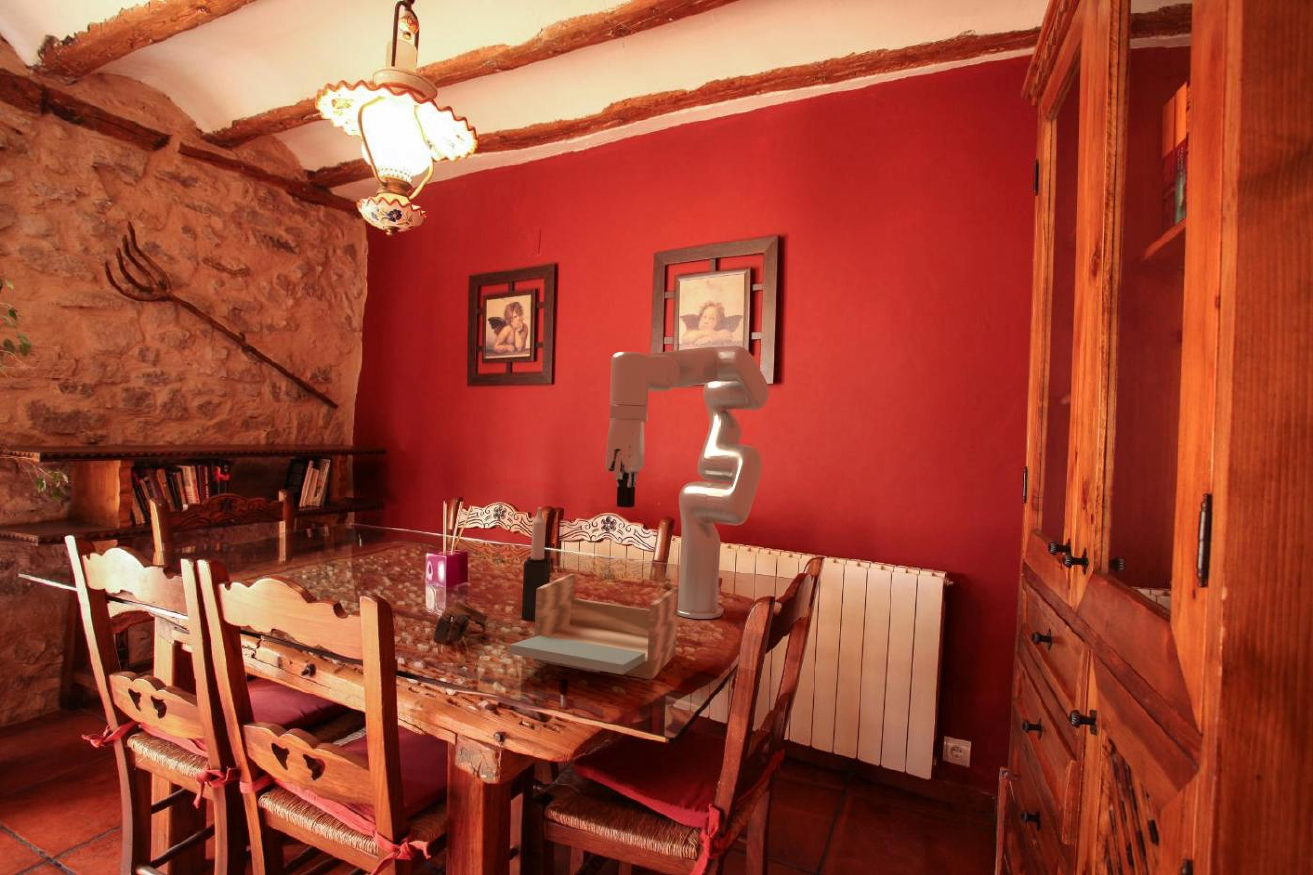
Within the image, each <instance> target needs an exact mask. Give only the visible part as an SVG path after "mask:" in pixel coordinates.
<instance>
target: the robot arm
mask: <svg viewBox="0 0 1313 875" xmlns="http://www.w3.org/2000/svg"><path fill="white" fill-rule="evenodd" d="M702 384H704V386H703V389H702V390H703V391H702V396H703V401H704V405H705V409H706V412H707V416H708V422H709V426H708V430H707V434H706V437H705V440H704V443H703V446H702V448H701V452H700V454H699V458H698V462H697V466H696V468H697V473H698V475H699V476H700V477H701V478H702V479H703V481H700V480H698V481H691V482H688V483H686V484H685V485H683V487H682V488H681V489H680V492H679V495H678V507H679V508H678V509H679V514H680V525H681V530H680V531H681V532H680V533H681V537H680V538H681V539H680V557H679V558H680V559H679V579H678V588H679V592H678V612H677V616H680V617H683V618H689V619H695V620H710V619H716V618H719V617H721V615H724V610H725V609H724V607H722V606H721V604H718V602H719V600H718V599H719V581H720V580H719V578H720V558H721V537H720V534H719V531H718V529H717V528H716V526H715V524H721V525H727V526H728V525H729V526H740V525H743V524H744V523H745V522H746V521H747V519H748V518H749V515H750V512H751V510H752V506H753V503H754V499H755V497H756V493H757V491H758V490H757V489H758V486H759V484H760V483H759V482H760V479H761V475H762V471H763V470H762V469H763V463H762V462H763V461H762V456H761V453H760V452H759V450H758V449H757V448H755V447H754V446H752V445H746V444H740V443H741V439H742V435H743V429H742V427H741V425H740V423H739V421H738V419H737V417H736V416H735V415H734V413H733V412H732V410H740V411H743V410H744V411H746V410H747V411H749V410H750V411H756V410H757V411H758V410H760V409H762V408H763V407H765V406H766V404H767V403H768V402H769V397H770V395H769V394H770V391H769V390H770V389H769V385H768V382H767V380H766V378H765V376H764V374H763V372H762V370H761V369H760V367H759V365H758V363H757V360H755V358H754V357H753V355H752V354H751V353H750V351H749V350H748V349H747V348H746V347H743V346H741V345H727V346H724V345H722V346H704V347H695V348H685V349H676V350H675V349H674V350H667V351H663V352H655V353H643V352H637V351H618V352H615V353H614V354H613V355H612V357H611V361H610V385H609V386H610V387H609V388H610V392H609V394H610V395H609V396H610V397H609V418H608V419H609V425H608V426H609V428H608V433H607V440H606V451H605V470H606V471H607V472H613V479H614V480H616V507H618V508H627V509H628V508H629V509H631V508H634V507H635V504H636V503H635V502H636V501H635V500H636V498H635V497H636V486H637V476H639V472H640V471H641V470H642V469H643V468H644V466H645V456H646V455H645V451H646V448H645V446H646V443H645V442H646V439H645V438H646V437H645V423H646V424H647V423H648V411H649V409H648V408H649V407H648V402H649V400H648V399H649V397H648V396H649V392H667V391H670V390H673V388H687V387H694V386H697V385H702ZM704 480H706V481H704Z"/></svg>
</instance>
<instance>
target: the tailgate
mask: <svg viewBox="0 0 1313 875" xmlns="http://www.w3.org/2000/svg"><path fill="white" fill-rule="evenodd" d="M508 654H510V655H512V656H513V655H515V656H520V657H525V658H528V659H529V658H530V659H533V661H534V662H538V663H546V664H549V665H555V666H562V667H567V668H573V669H578V670H583V671H589V672H594V673H601V672H605V673H606V672H607V673H611V674H618V675H623V674H624V673H626V672H627V671H629V670H631V669H633V668H634V667H636V666H638V665H640V664H641V663H643V662H645V653H644V652H638V651H632V650H626V649H620V648H614V647H608V646H602V645H596V644H591V643H585V642H579V641H573V640H567V639H561V638H555V637H549V636H543V635H539V636H536V637H534V636H533V637H531V638H526V639H524V640H521V641H520V640H519V641H518V642H513V643H511V644H510V645H509V650H508Z"/></svg>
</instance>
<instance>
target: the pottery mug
mask: <svg viewBox="0 0 1313 875" xmlns="http://www.w3.org/2000/svg"><path fill="white" fill-rule="evenodd" d="M488 617H489V616H488V615H487V614H485V613H483V612H482V611H480V610H477V609H476V608H474V607H472V606H470V605H468V604H466V603H464V602H463V601H462V602H461V601H458V600H456V601H455V603H454V604H453V605H452V606H450V607H447V608H446V609H445V610H444V611H443V612H442V614H441V616H440V617H439V619H438V621H437V624H436V627H435V630H434V634H433V639H434V640H435V641H436V642H438V643H440V644H442V645H444V644H445V645H446V644H447V640H448V639H449V640H450V641H451V642H453V643H455V642H460V641H461V640H462V638H463V636H464V632H466V630H467V628H468V626H469V623H470V621H471V622H472V621H474V623H475V624H476V625H479V626H480V627H481V628H482V632H481V634H480V637H481V638H482V637H483V638H484V637H485V634H486V632H487V624H486V620H487V618H488ZM451 619H452V621H451Z"/></svg>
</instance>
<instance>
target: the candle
mask: <svg viewBox="0 0 1313 875" xmlns="http://www.w3.org/2000/svg"><path fill="white" fill-rule="evenodd" d="M542 510H543V508H542V507H541V506H539V507H538V508H537V512H536V516H535V518H534V519H533V521H532V527H531V528H532V529H531V530H532V531H531V549H530V550H531V551H530V556H528V557H527V559H526V560H525V561H523V575H522V578H523V579H522V596H521V615H520V616H521V620H523V621H530V622H531V621H532V622H535V610H536V589H537V588H539V587H541V586H543V585H545V584H548V583H550V582H551V560H550V559H548V557H546V556H545V547H546V546H545V545H546V529H547V528H546V526H547V525H546V524H547V523H546V520H545V519H544V516H543V513H542Z"/></svg>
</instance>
